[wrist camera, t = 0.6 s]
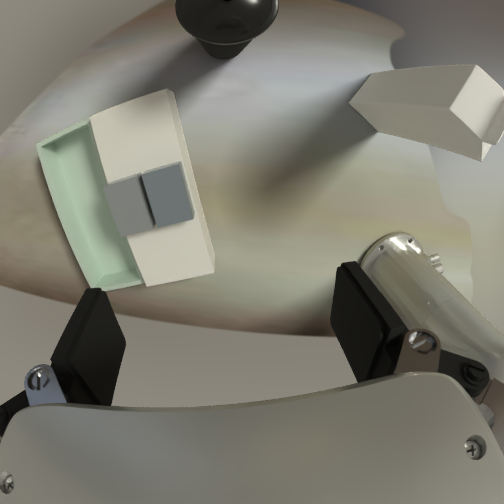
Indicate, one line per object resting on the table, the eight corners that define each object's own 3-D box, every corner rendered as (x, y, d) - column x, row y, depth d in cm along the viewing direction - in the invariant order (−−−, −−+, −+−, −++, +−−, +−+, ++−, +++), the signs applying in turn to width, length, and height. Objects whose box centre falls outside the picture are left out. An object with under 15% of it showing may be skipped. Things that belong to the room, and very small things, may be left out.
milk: (347, 103, 31) (477, 112, 12) (371, 72, 29) (504, 63, 10) (378, 133, 33) (508, 174, 14) (401, 103, 31) (532, 124, 12)
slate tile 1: (181, 160, 28) (178, 164, 26) (195, 212, 31) (193, 219, 29) (145, 170, 28) (141, 174, 26) (161, 221, 31) (157, 227, 29)
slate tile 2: (140, 172, 28) (135, 176, 26) (156, 222, 31) (152, 229, 29) (109, 182, 28) (102, 187, 26) (125, 230, 31) (120, 237, 29)
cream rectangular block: (174, 92, 29) (166, 88, 24) (214, 253, 39) (214, 272, 35) (106, 114, 29) (89, 116, 24) (154, 267, 39) (146, 286, 35)
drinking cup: (209, 80, 29) (194, 39, 11) (181, 32, 25) (139, -46, 8) (268, 54, 28) (324, -6, 10) (239, 6, 24) (261, -86, 7)
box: (104, 115, 29) (91, 117, 25) (152, 267, 39) (146, 282, 36) (51, 139, 29) (35, 144, 25) (102, 278, 39) (93, 293, 36)
